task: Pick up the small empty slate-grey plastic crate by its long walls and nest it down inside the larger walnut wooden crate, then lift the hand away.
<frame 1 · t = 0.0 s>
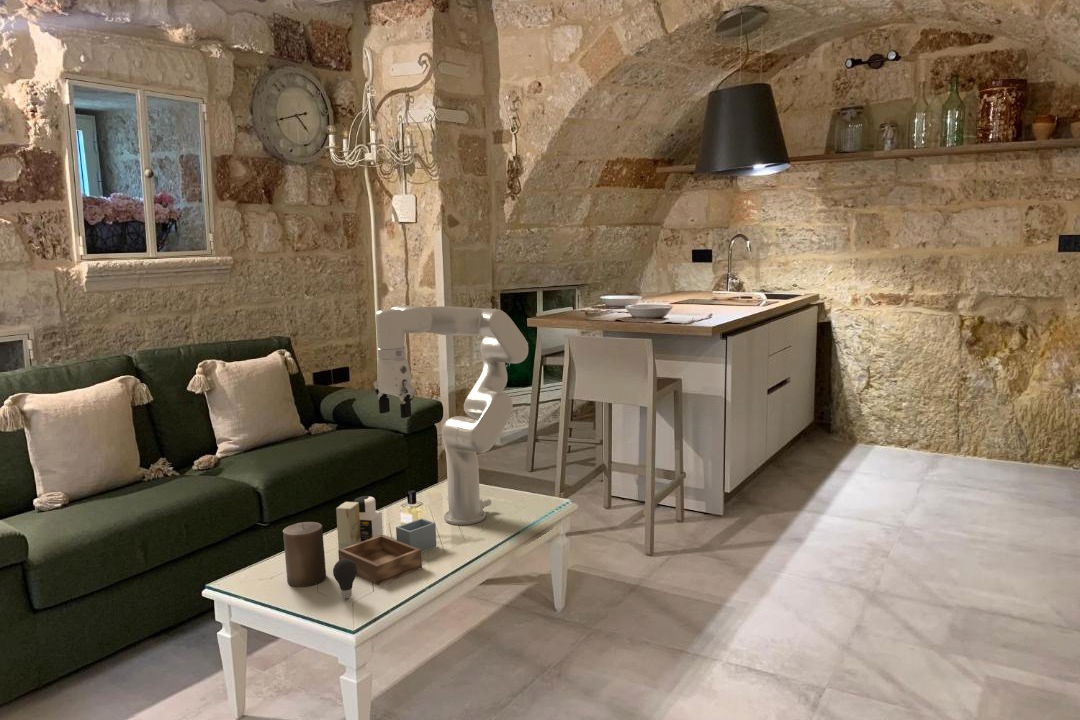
hand: (395, 414, 231), 37 cm above the table, tool pointing down, fingers open, 9 cm apart
light bulb: (347, 599, 200), on the table
medicine bottle: (366, 538, 240), on the table
walnut crate: (380, 567, 218), on the table
grey crate: (417, 549, 231), on the table
pillar candle: (306, 579, 212), on the table
skincare box: (350, 547, 234), on the table
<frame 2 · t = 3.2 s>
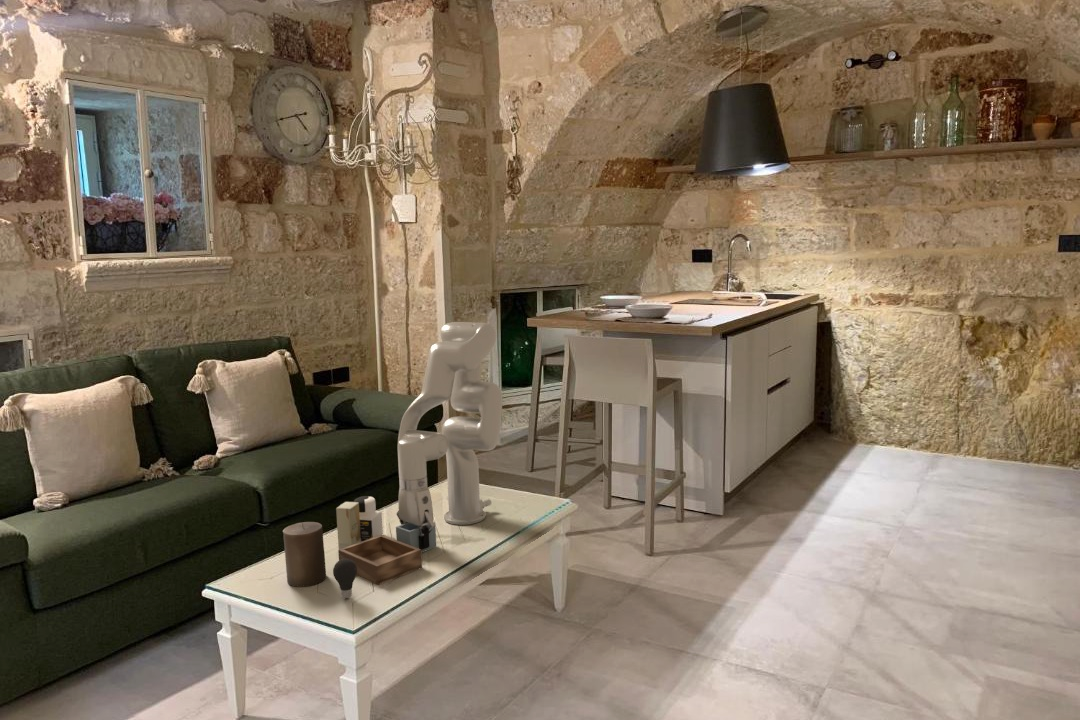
hand: (416, 544, 230), 1 cm above the table, tool pointing down, fingers closed on grey crate, 6 cm apart
grey crate: (416, 548, 231), on the table, touching gripper
everything else where it was.
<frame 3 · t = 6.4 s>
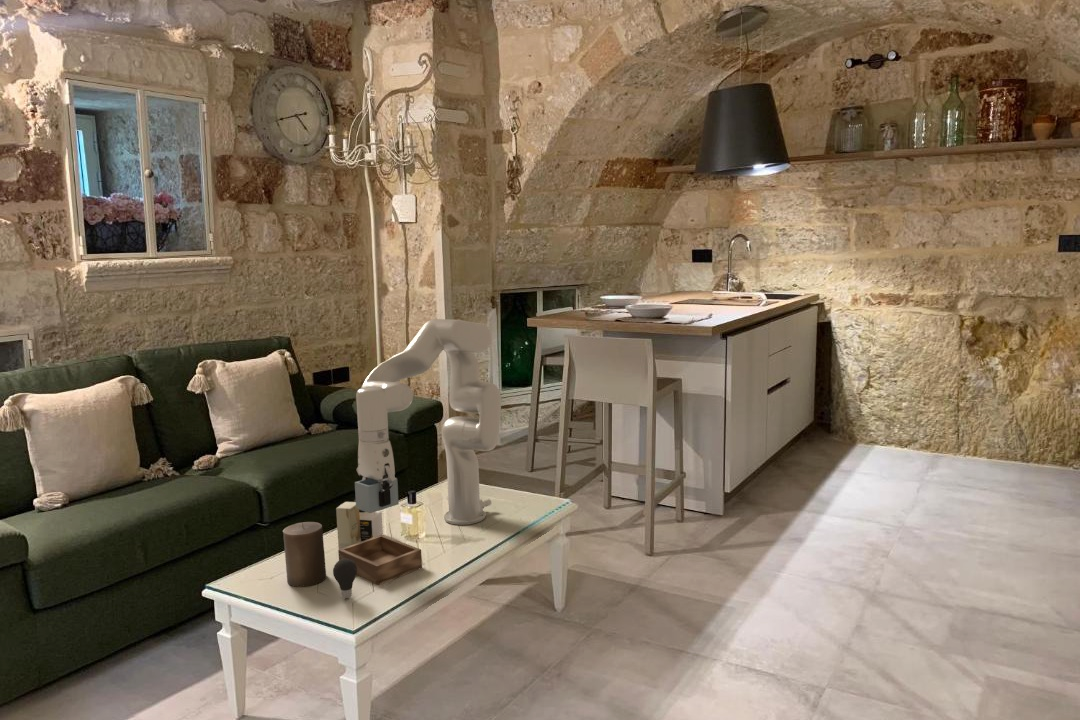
hand: (377, 502, 215), 18 cm above the table, tool pointing down, fingers closed on grey crate, 6 cm apart
grey crate: (377, 506, 216), point 17 cm above the table, touching gripper
everything else where it was.
when the fingers open (4 cm above the table, at t = 9.6 s): grey crate drops 1 cm, resting on walnut crate.
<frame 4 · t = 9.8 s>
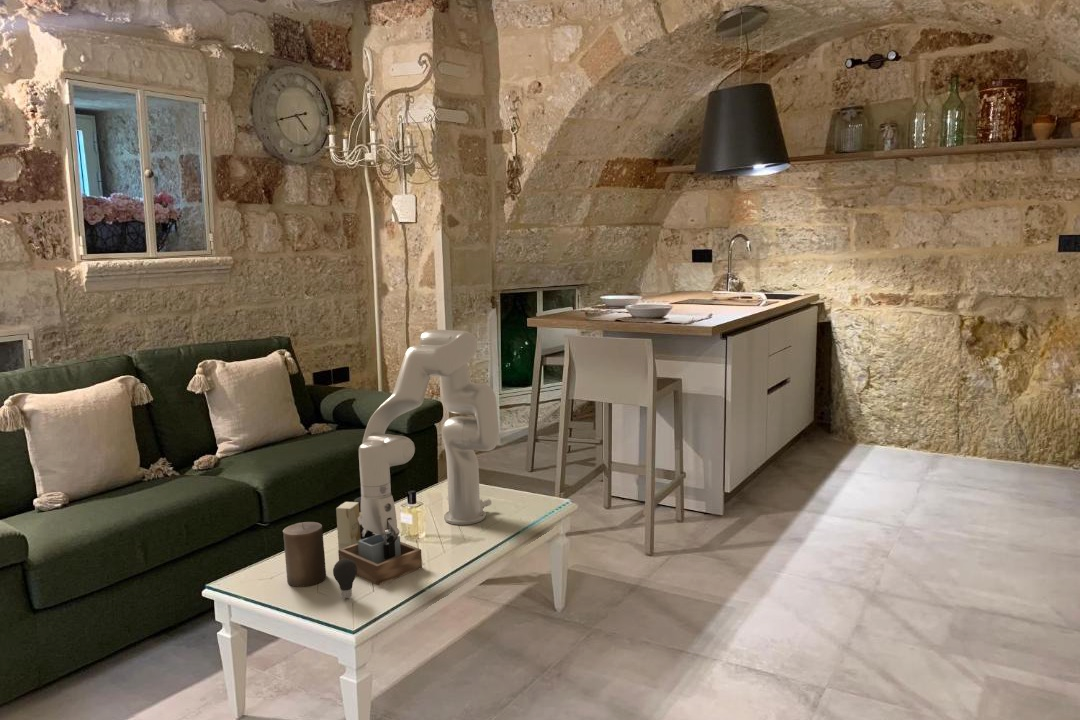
hand: (379, 553, 217), 4 cm above the table, tool pointing down, fingers open, 8 cm apart
grey crate: (380, 564, 218), point 1 cm above the table, touching walnut crate
everything else where it was.
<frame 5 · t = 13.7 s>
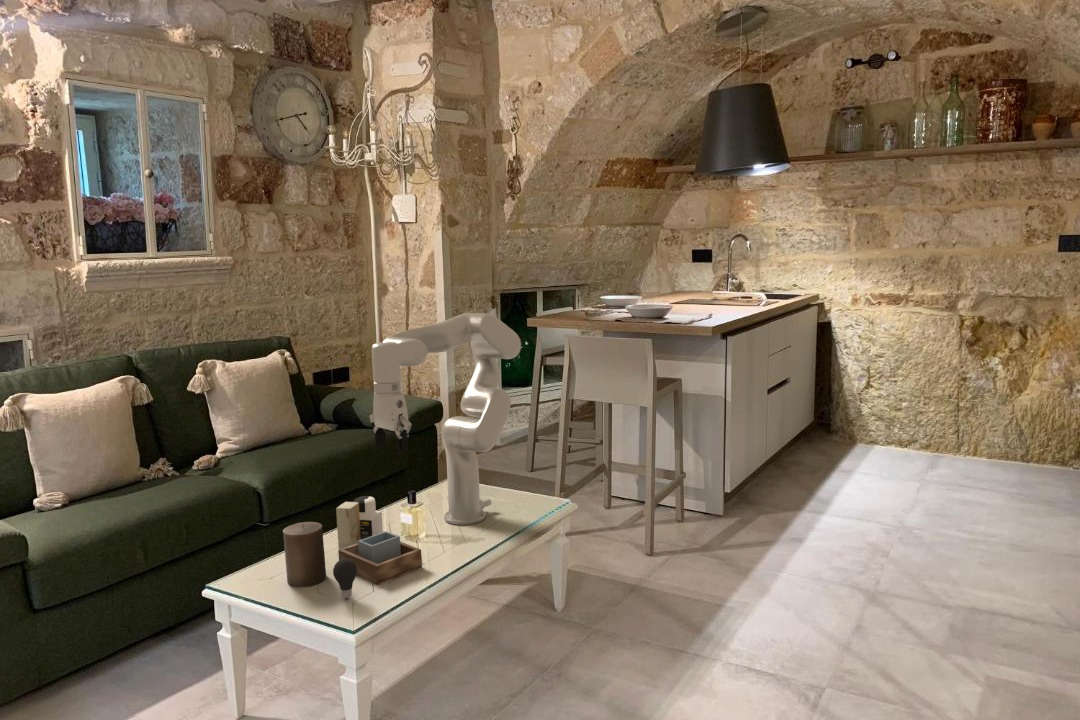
hand: (391, 449, 227), 28 cm above the table, tool pointing down, fingers open, 9 cm apart
nothing on the table moved.
at the end: grey crate inside the target area on the walnut crate (0.1 cm from its centre), point 1.0 cm above the walnut crate's base; grey crate tilted 0°; the gripper is holding nothing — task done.
